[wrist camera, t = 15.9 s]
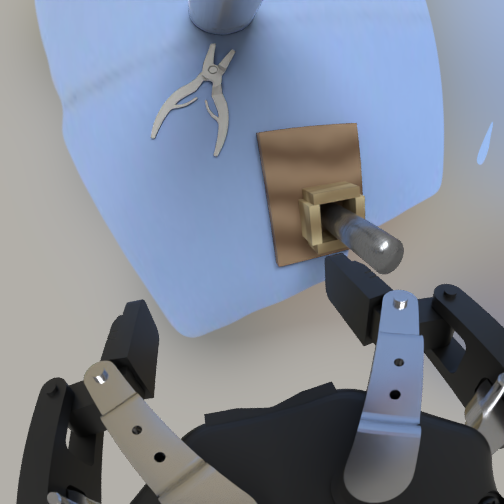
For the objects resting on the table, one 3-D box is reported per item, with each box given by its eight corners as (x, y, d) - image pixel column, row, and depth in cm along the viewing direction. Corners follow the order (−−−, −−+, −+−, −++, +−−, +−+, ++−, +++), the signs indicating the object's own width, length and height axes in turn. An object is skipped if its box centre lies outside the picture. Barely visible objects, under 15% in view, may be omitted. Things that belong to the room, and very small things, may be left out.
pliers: (148, 137, 31) (188, 36, 27) (150, 137, 33) (189, 40, 28) (219, 157, 34) (258, 58, 30) (218, 156, 36) (256, 61, 31)
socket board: (256, 132, 35) (265, 132, 30) (351, 123, 37) (371, 123, 32) (276, 262, 44) (286, 279, 39) (359, 242, 45) (376, 254, 40)
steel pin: (313, 202, 39) (374, 242, 25) (337, 198, 39) (404, 234, 25) (315, 228, 41) (372, 278, 26) (339, 222, 41) (401, 268, 27)
